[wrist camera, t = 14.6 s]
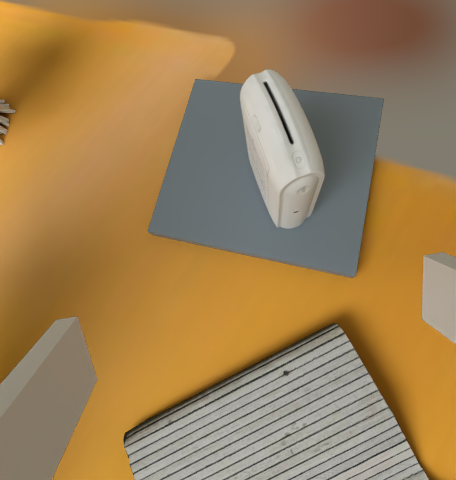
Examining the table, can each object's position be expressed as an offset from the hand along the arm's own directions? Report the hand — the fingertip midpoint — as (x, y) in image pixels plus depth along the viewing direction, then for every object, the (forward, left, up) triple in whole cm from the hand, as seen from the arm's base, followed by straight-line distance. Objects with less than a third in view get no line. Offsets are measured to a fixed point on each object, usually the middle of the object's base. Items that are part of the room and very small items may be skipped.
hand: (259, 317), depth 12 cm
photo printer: (-2, +14, -19) cm, 24 cm away
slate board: (-4, +16, -21) cm, 26 cm away
